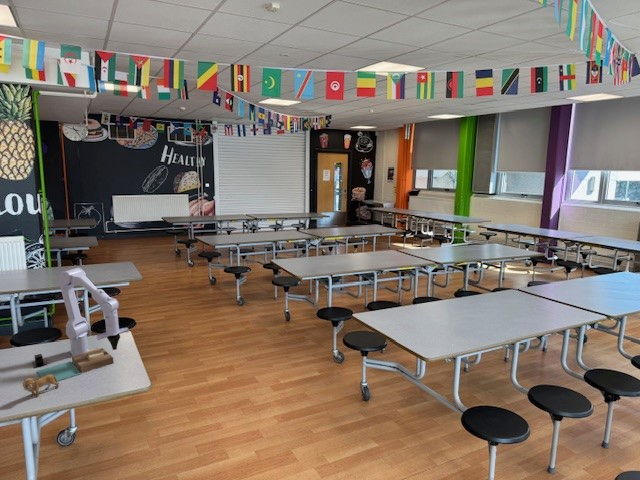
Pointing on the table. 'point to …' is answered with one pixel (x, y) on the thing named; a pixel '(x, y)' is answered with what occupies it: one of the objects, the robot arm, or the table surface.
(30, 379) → the lion figurine
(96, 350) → the beech tile
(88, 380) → the table surface
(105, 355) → the walnut board
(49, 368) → the teal mat
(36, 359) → the black slotted bracket
